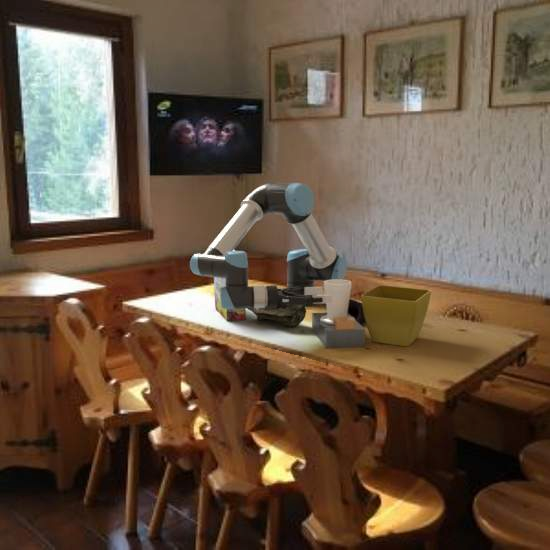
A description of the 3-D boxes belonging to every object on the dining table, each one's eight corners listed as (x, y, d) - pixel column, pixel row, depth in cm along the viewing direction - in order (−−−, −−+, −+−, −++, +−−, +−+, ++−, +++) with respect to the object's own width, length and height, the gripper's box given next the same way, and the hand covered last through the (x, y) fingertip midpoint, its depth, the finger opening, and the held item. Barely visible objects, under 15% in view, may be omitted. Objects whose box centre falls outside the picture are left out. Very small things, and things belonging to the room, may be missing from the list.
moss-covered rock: (304, 342, 225) (326, 309, 229) (285, 323, 217) (308, 290, 221) (258, 325, 246) (278, 295, 250) (239, 307, 239) (261, 276, 243)
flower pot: (414, 351, 199) (416, 301, 196) (358, 343, 208) (359, 294, 205) (429, 336, 215) (431, 289, 212) (378, 329, 224) (379, 284, 221)
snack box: (213, 308, 257) (211, 248, 252) (233, 307, 259) (232, 246, 255) (225, 321, 237) (223, 255, 232) (247, 319, 239) (246, 254, 234)
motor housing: (312, 328, 226) (312, 305, 224) (346, 327, 227) (346, 303, 226) (326, 348, 202) (326, 322, 201) (364, 346, 204) (365, 320, 202)
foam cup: (318, 319, 212) (318, 282, 210) (331, 313, 220) (331, 278, 217) (343, 323, 207) (343, 285, 205) (355, 317, 215) (356, 281, 212)
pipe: (345, 294, 248) (329, 295, 235) (380, 301, 240) (364, 302, 227) (342, 318, 249) (325, 320, 236) (376, 325, 241) (360, 327, 228)
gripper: (261, 299, 221) (319, 297, 224) (270, 316, 197) (335, 314, 200) (261, 279, 220) (319, 277, 223) (270, 293, 195) (335, 291, 198)
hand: (327, 294), depth 211 cm, fingers open, 13 cm apart
